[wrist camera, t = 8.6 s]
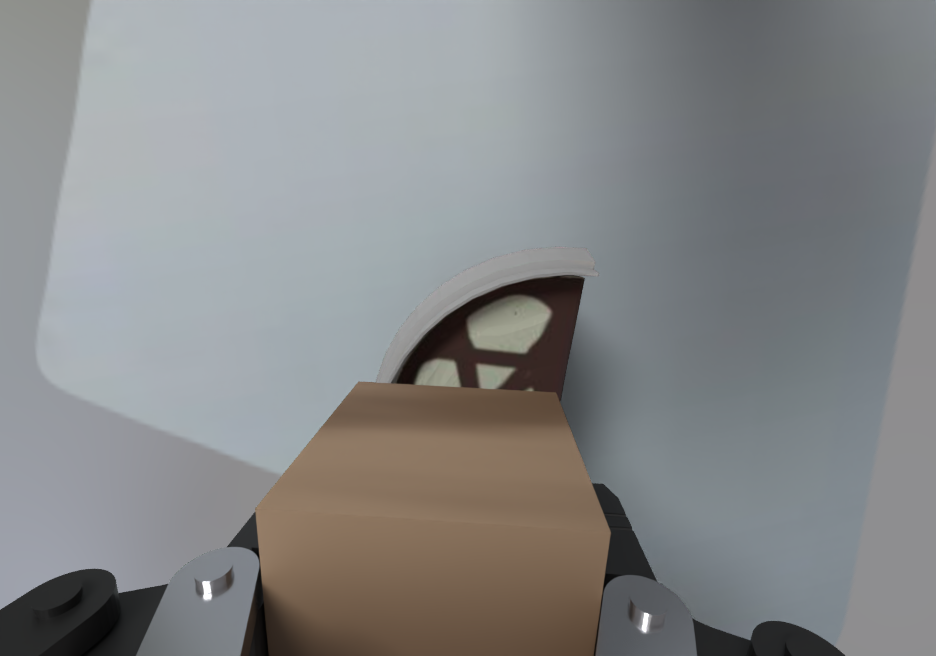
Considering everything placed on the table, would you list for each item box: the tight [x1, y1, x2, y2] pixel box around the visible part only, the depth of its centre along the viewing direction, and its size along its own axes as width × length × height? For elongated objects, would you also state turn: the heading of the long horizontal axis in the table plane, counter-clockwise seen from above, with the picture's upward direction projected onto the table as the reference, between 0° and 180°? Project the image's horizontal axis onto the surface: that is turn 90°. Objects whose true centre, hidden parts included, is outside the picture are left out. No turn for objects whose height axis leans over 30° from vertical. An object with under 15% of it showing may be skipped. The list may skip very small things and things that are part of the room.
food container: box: [376, 247, 599, 401], centre depth 18 cm, size 12×6×10 cm, turn 172°
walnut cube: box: [255, 382, 611, 656], centre depth 9 cm, size 5×5×5 cm
